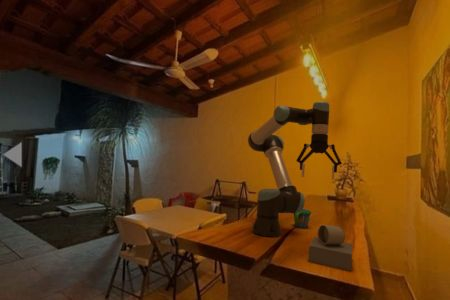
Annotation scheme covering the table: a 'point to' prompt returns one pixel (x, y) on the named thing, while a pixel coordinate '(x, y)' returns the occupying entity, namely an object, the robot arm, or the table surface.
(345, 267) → the slate block
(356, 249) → the table surface
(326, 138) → the robot arm
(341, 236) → the ceramic mug
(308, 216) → the snack cup
